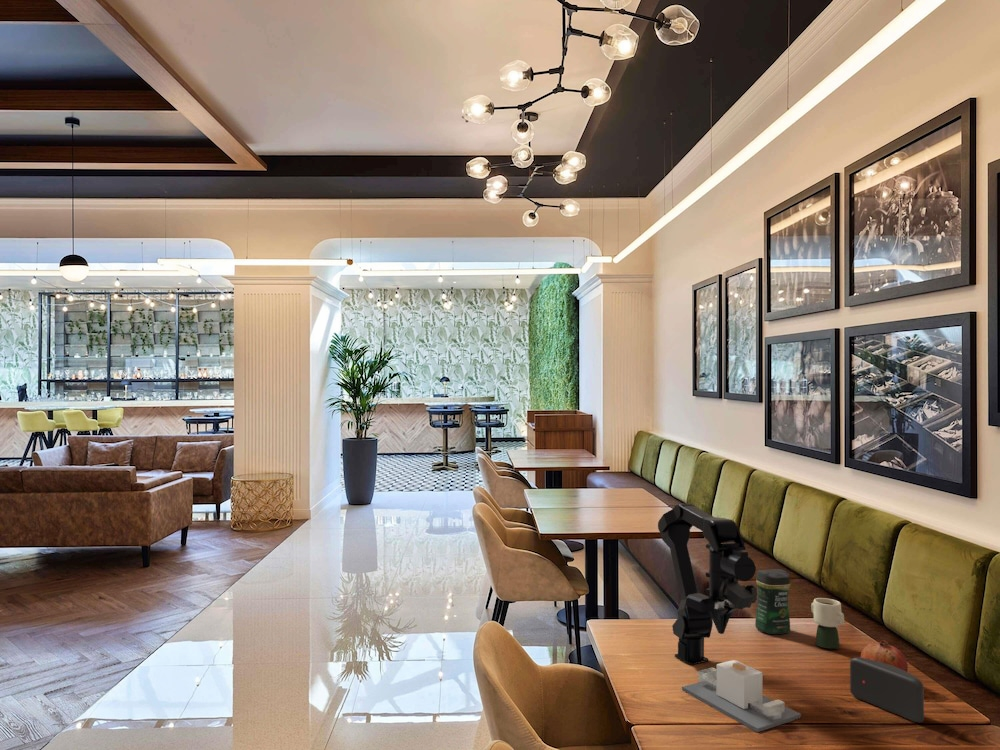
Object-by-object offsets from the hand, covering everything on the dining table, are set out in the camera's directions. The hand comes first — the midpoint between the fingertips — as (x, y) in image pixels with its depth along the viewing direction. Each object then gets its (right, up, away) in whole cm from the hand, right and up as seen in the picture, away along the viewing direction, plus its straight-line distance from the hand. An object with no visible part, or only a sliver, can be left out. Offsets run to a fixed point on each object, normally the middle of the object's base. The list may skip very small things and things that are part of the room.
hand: (721, 633), depth 160 cm
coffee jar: (+29, -14, +37) cm, 49 cm away
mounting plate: (0, -12, -12) cm, 16 cm away
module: (0, -11, -12) cm, 16 cm away
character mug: (+39, -14, +24) cm, 48 cm away
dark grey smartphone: (+33, -12, -13) cm, 38 cm away
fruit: (+42, -13, +2) cm, 44 cm away
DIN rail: (0, -12, -12) cm, 16 cm away
